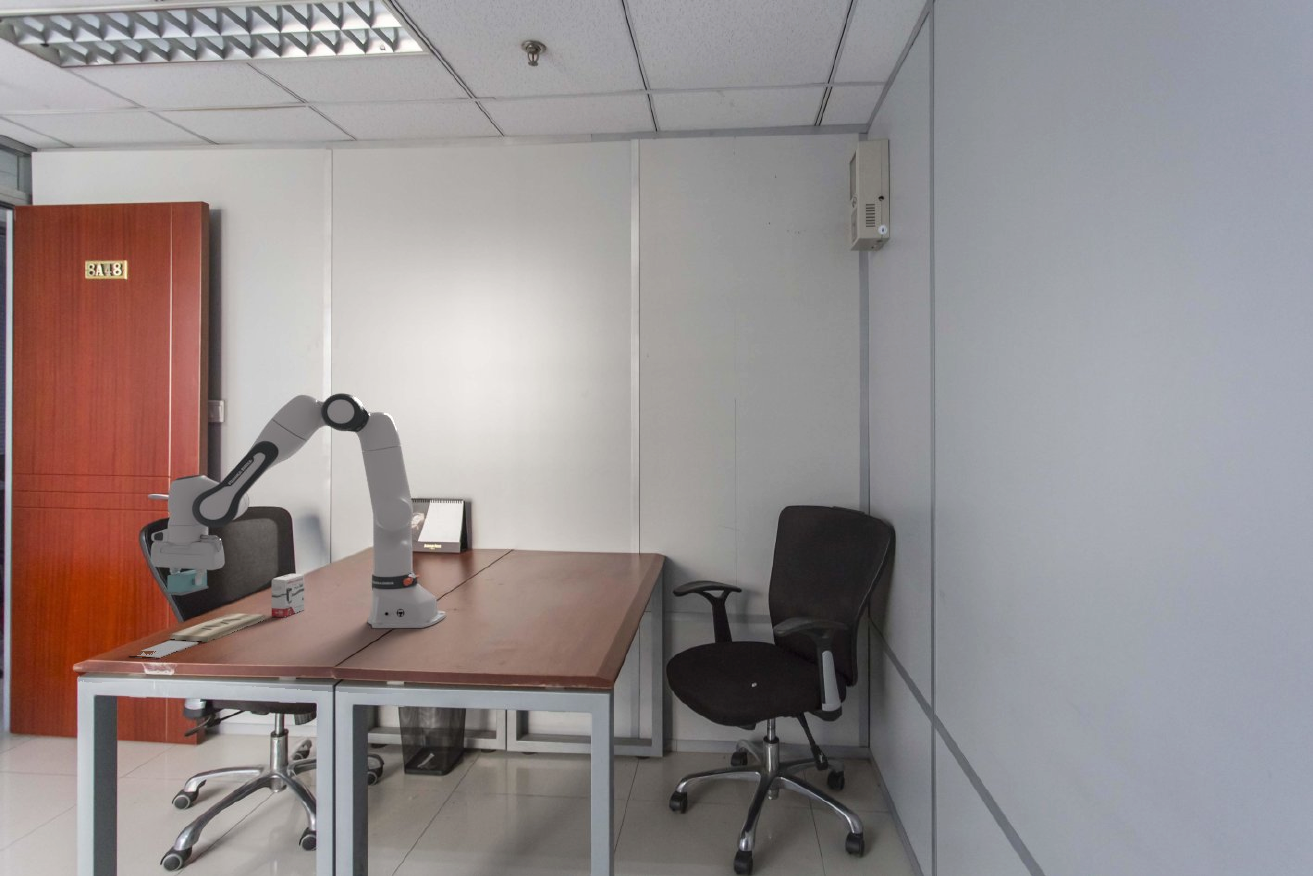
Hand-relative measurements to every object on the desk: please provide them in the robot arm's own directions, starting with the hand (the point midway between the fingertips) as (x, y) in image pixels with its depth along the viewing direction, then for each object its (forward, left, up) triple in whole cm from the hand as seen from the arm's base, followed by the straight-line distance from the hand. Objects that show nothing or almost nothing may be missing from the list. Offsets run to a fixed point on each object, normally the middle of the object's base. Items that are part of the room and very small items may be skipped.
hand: (187, 584), depth 167 cm
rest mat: (0, +7, -16) cm, 17 cm away
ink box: (-8, -27, -16) cm, 32 cm away
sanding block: (0, 0, -2) cm, 2 cm away
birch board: (0, -10, -16) cm, 18 cm away
